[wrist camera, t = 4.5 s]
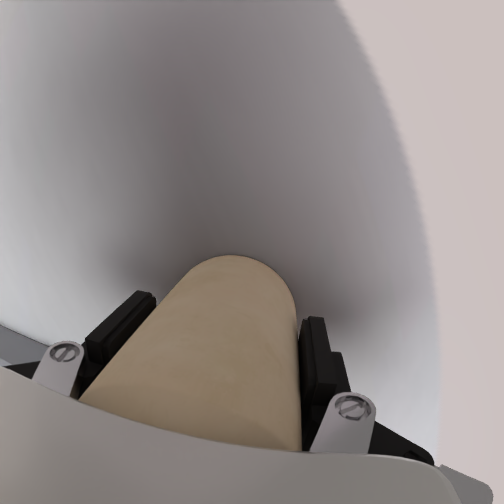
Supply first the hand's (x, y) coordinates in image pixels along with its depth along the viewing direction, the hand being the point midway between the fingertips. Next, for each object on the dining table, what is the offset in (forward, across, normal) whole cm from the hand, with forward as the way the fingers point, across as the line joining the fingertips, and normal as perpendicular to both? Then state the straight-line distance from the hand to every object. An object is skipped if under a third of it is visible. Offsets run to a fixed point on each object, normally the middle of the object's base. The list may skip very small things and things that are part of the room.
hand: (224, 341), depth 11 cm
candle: (+3, 0, 0) cm, 3 cm away
